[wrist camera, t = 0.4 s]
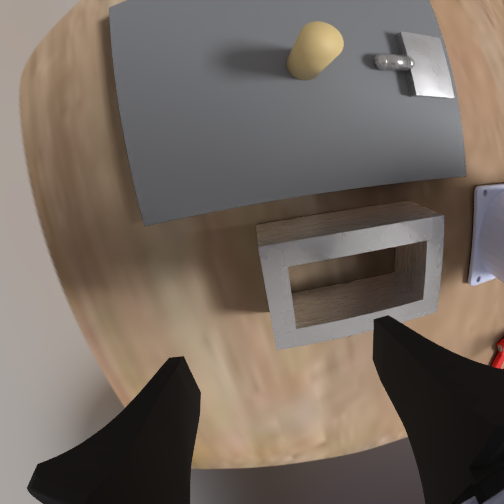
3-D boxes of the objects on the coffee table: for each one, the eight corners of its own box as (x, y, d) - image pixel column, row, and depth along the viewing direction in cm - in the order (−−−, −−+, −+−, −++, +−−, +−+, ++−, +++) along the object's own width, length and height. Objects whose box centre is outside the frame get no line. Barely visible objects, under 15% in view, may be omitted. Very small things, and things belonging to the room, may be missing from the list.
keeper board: (412, -10, 11) (451, -39, 6) (453, 173, 16) (507, 187, 11) (118, 16, 12) (78, -18, 7) (152, 219, 17) (115, 250, 12)
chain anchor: (433, 41, 12) (441, 37, 11) (446, 99, 13) (456, 97, 12) (363, 32, 12) (369, 26, 11) (378, 96, 13) (386, 93, 12)
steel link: (409, 200, 17) (444, 215, 13) (408, 283, 19) (436, 311, 15) (255, 224, 17) (258, 247, 13) (271, 312, 19) (276, 350, 15)
